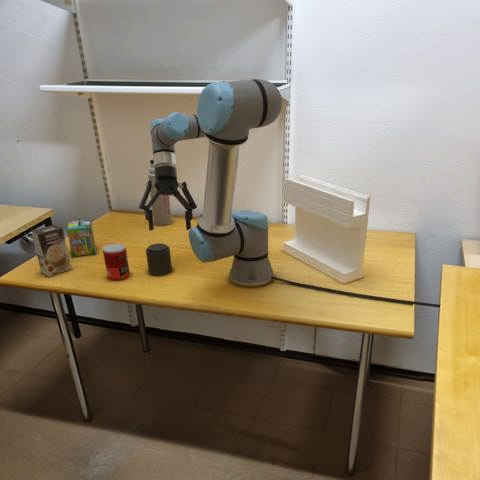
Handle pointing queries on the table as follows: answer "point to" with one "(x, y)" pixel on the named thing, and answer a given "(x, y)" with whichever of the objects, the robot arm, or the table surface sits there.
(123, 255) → the canned food
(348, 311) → the table surface
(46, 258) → the coffee box
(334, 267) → the block
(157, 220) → the thermos bottle
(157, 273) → the cap
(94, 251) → the chalk box
